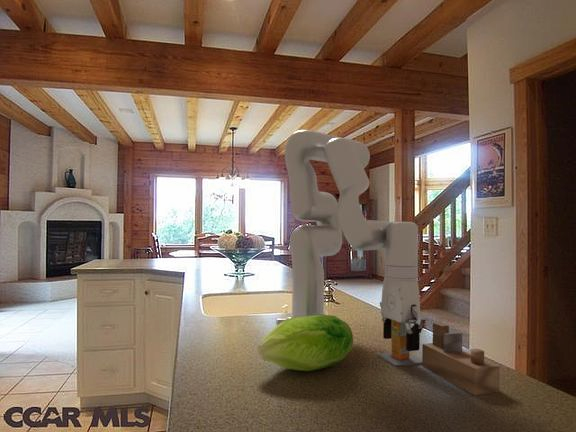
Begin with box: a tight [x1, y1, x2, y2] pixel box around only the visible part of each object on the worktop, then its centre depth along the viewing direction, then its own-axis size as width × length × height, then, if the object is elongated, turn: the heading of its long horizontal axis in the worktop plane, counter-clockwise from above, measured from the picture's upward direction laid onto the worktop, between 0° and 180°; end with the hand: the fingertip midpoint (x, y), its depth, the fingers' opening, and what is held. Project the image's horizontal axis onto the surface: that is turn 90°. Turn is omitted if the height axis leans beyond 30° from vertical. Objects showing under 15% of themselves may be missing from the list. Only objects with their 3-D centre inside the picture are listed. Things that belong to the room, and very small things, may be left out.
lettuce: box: [257, 314, 354, 372], centre depth 88 cm, size 13×23×12 cm, turn 115°
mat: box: [376, 352, 422, 368], centre depth 95 cm, size 8×8×1 cm
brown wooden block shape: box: [421, 321, 501, 396], centre depth 84 cm, size 6×16×10 cm, turn 18°
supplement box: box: [390, 319, 411, 360], centre depth 95 cm, size 3×3×10 cm
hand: (400, 344), depth 95 cm, fingers open, 9 cm apart
